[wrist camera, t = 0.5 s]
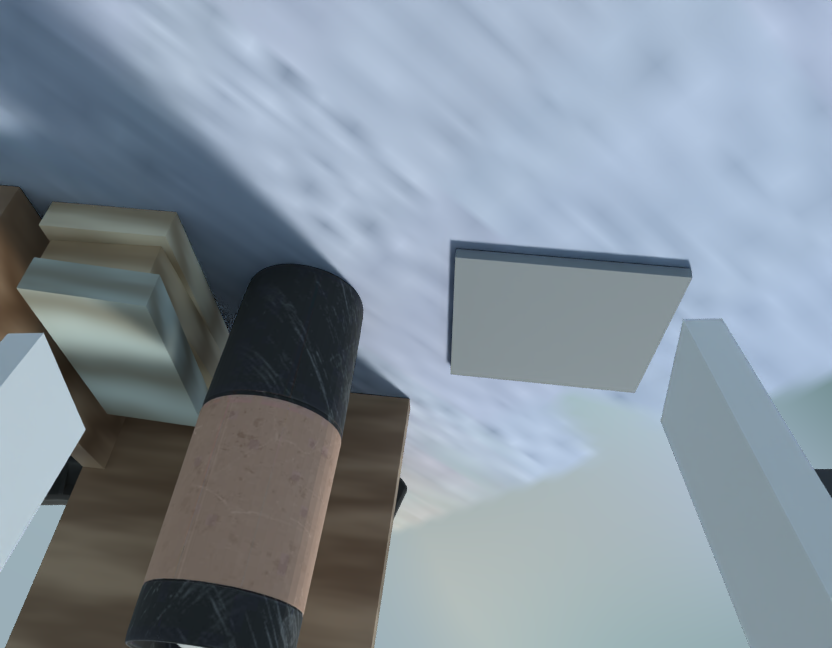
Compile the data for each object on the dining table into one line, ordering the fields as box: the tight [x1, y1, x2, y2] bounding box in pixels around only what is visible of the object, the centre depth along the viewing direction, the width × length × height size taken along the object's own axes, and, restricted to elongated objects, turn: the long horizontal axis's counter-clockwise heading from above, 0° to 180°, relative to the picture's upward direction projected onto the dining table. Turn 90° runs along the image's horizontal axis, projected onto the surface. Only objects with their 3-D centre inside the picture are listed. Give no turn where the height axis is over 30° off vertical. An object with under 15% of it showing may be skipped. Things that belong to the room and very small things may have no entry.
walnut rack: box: [0, 185, 410, 648], centre depth 39 cm, size 21×22×20 cm
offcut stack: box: [17, 202, 229, 427], centre depth 42 cm, size 16×8×6 cm, turn 1°
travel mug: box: [125, 264, 363, 648], centre depth 36 cm, size 8×8×20 cm
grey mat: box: [451, 249, 692, 393], centre depth 40 cm, size 12×12×1 cm
